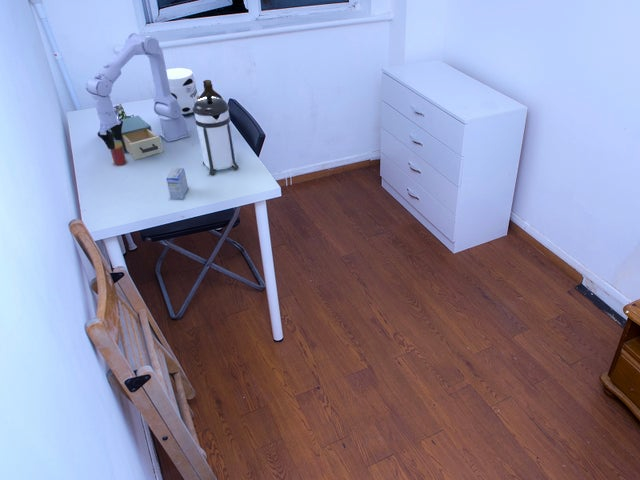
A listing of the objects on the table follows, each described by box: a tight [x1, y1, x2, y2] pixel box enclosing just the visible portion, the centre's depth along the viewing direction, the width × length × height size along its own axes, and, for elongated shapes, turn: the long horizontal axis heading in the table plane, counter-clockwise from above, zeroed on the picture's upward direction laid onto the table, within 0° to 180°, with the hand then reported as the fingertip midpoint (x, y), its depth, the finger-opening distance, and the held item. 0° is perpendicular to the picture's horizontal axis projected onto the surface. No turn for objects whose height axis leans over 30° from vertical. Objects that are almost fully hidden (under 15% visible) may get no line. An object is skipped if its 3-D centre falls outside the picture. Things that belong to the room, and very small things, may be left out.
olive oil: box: [198, 79, 224, 100], centre depth 231 cm, size 11×11×25 cm
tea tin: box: [109, 142, 127, 167], centre depth 214 cm, size 5×5×8 cm
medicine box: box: [166, 167, 189, 200], centre depth 197 cm, size 8×4×9 cm, turn 5°
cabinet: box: [109, 115, 153, 154], centre depth 229 cm, size 13×13×8 cm
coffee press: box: [193, 93, 240, 176], centre depth 209 cm, size 17×16×30 cm
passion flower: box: [113, 103, 135, 120], centre depth 242 cm, size 11×11×12 cm
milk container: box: [166, 67, 200, 116], centre depth 255 cm, size 17×17×18 cm
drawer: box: [122, 128, 164, 161], centre depth 221 cm, size 16×12×7 cm
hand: (115, 144), depth 212 cm, fingers open, 7 cm apart
